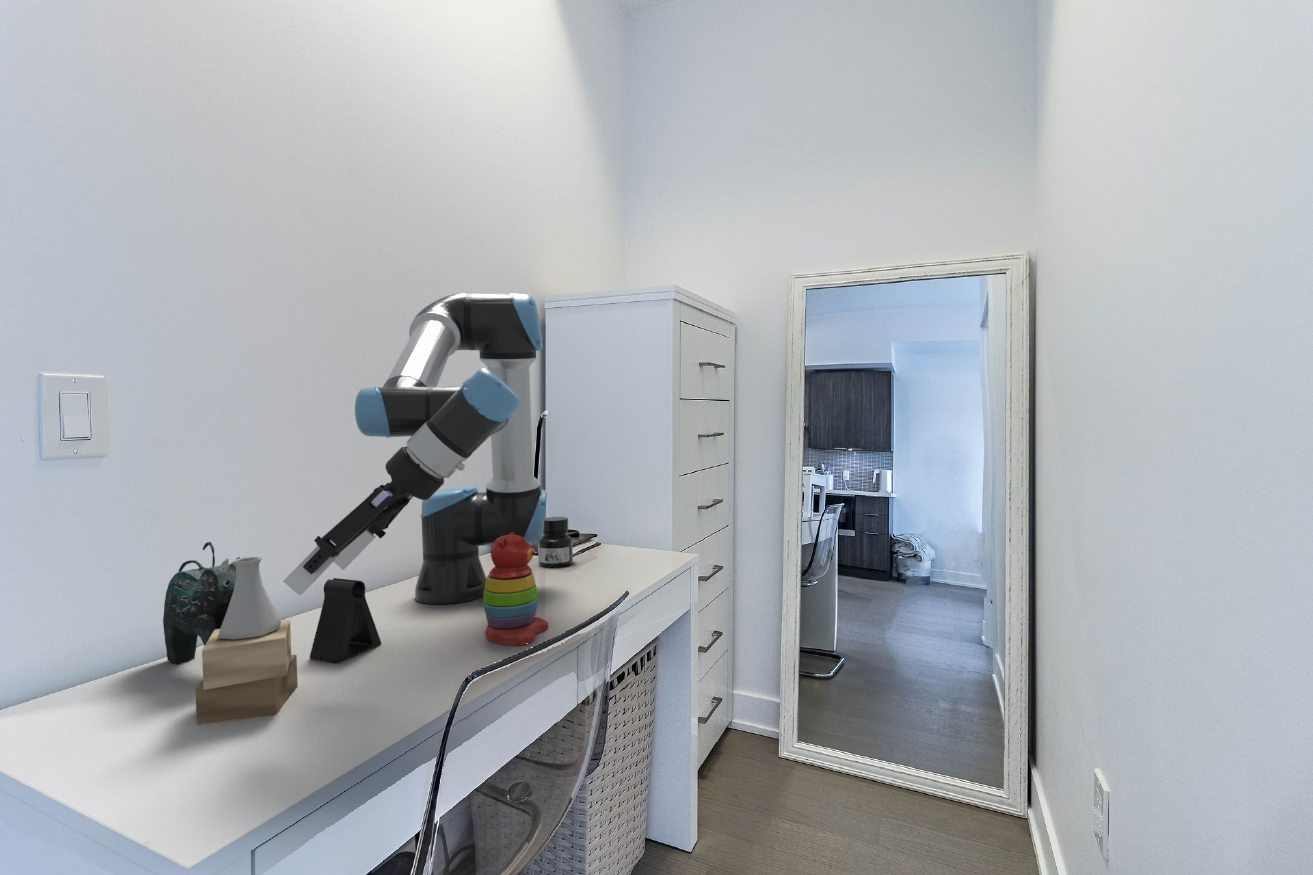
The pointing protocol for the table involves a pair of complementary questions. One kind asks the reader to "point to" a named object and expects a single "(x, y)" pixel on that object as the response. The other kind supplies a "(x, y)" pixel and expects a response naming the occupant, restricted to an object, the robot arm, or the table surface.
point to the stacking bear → (511, 593)
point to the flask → (248, 604)
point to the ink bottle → (555, 543)
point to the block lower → (246, 698)
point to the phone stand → (344, 623)
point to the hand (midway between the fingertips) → (316, 574)
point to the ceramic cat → (196, 606)
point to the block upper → (246, 657)
